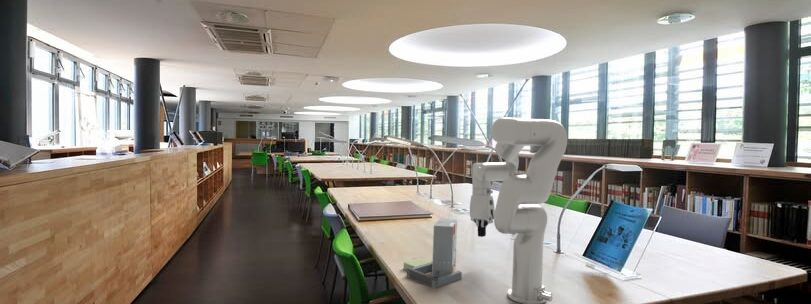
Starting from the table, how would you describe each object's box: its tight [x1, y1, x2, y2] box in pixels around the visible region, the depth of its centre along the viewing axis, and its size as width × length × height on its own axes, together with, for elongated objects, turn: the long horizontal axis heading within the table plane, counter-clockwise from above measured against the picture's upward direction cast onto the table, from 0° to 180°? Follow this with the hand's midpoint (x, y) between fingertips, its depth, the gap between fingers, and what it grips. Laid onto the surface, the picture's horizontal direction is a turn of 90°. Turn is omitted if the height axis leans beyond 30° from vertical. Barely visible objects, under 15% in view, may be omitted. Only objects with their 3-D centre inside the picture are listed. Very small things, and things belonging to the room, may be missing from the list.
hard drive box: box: [431, 217, 458, 278], centre depth 151 cm, size 16×8×20 cm, turn 166°
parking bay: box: [406, 262, 463, 289], centre depth 145 cm, size 15×14×3 cm
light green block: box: [403, 257, 433, 271], centre depth 155 cm, size 7×10×3 cm
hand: (481, 236), depth 159 cm, fingers closed
